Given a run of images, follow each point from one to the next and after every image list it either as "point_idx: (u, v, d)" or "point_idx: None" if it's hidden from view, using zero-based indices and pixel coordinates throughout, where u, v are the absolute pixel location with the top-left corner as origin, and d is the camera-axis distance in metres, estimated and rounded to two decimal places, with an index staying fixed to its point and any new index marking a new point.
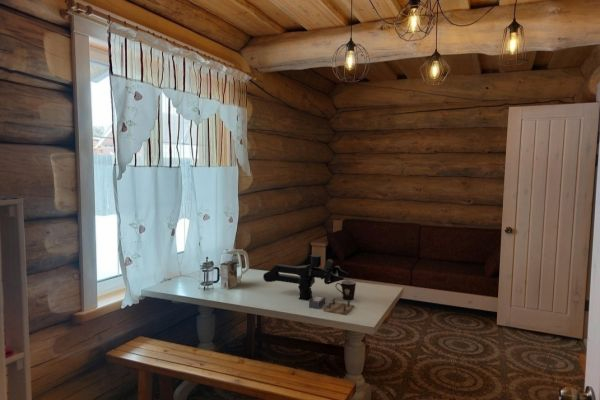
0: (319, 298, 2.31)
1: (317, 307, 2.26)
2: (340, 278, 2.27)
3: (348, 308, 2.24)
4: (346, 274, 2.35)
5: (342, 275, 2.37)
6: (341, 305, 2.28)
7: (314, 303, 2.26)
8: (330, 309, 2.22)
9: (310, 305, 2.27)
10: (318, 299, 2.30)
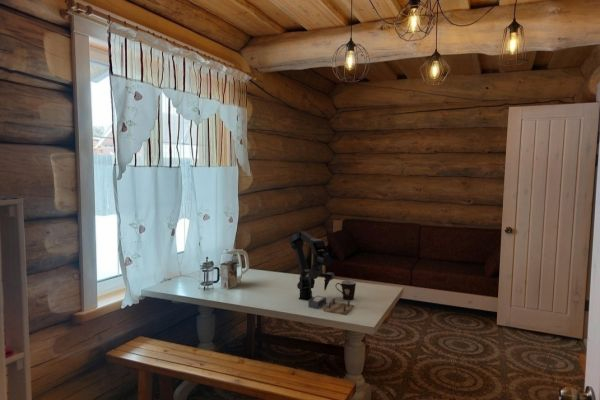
0: (319, 298, 2.31)
1: (316, 307, 2.26)
2: None
3: (348, 308, 2.24)
4: None
5: None
6: (341, 305, 2.28)
7: (313, 303, 2.26)
8: (330, 309, 2.22)
9: (309, 305, 2.28)
10: (318, 299, 2.30)
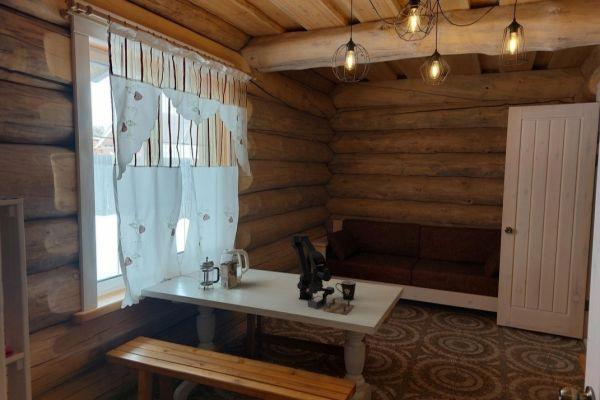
0: (319, 298, 2.31)
1: (315, 307, 2.26)
2: None
3: (348, 308, 2.24)
4: None
5: None
6: (341, 305, 2.28)
7: (312, 303, 2.27)
8: (330, 309, 2.22)
9: (309, 304, 2.28)
10: (318, 299, 2.30)
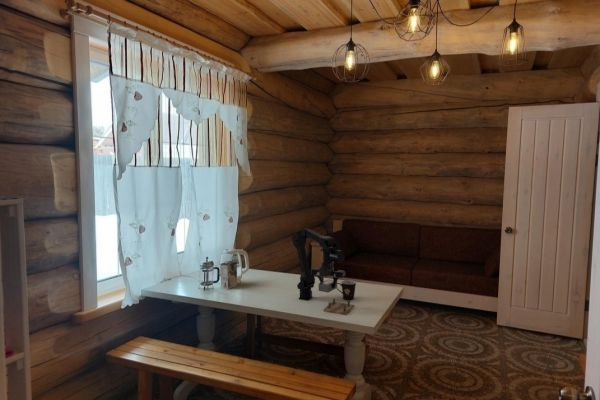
0: (330, 281, 2.27)
1: (326, 290, 2.22)
2: None
3: (348, 308, 2.24)
4: None
5: None
6: (341, 305, 2.28)
7: (323, 286, 2.23)
8: (330, 309, 2.22)
9: (319, 288, 2.24)
10: (328, 282, 2.26)
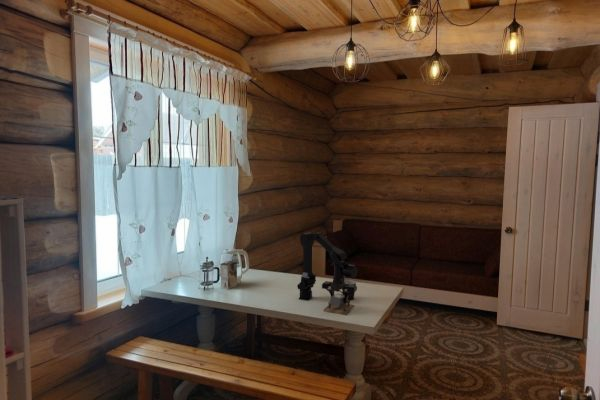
0: (341, 296, 2.26)
1: (338, 303, 2.20)
2: None
3: (348, 308, 2.24)
4: None
5: None
6: (341, 305, 2.28)
7: (335, 299, 2.21)
8: (330, 309, 2.22)
9: (331, 300, 2.22)
10: (340, 296, 2.24)
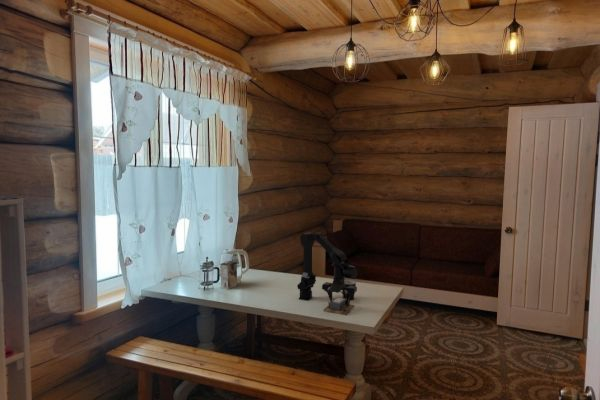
0: (341, 299, 2.25)
1: (338, 308, 2.20)
2: None
3: (348, 308, 2.24)
4: None
5: None
6: None
7: (335, 304, 2.21)
8: (330, 309, 2.22)
9: (331, 306, 2.22)
10: (339, 300, 2.24)
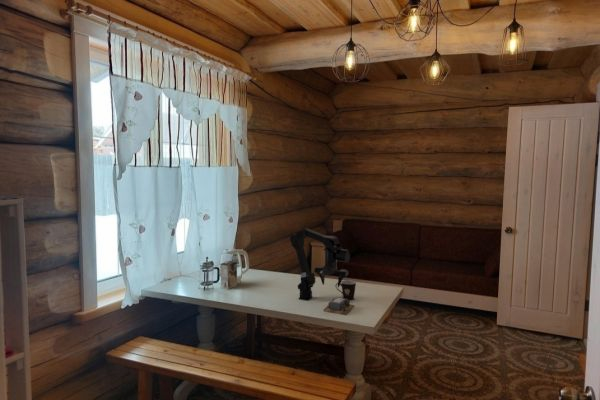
0: (341, 299, 2.25)
1: (338, 308, 2.20)
2: None
3: (348, 308, 2.24)
4: None
5: None
6: None
7: (335, 304, 2.21)
8: (330, 309, 2.22)
9: (331, 306, 2.22)
10: (339, 300, 2.24)
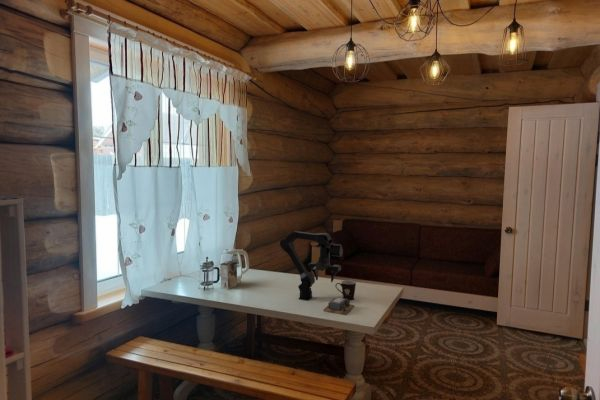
0: (341, 299, 2.25)
1: (338, 308, 2.20)
2: None
3: (348, 308, 2.24)
4: None
5: None
6: None
7: (335, 304, 2.21)
8: (330, 309, 2.22)
9: (331, 306, 2.22)
10: (339, 300, 2.24)
